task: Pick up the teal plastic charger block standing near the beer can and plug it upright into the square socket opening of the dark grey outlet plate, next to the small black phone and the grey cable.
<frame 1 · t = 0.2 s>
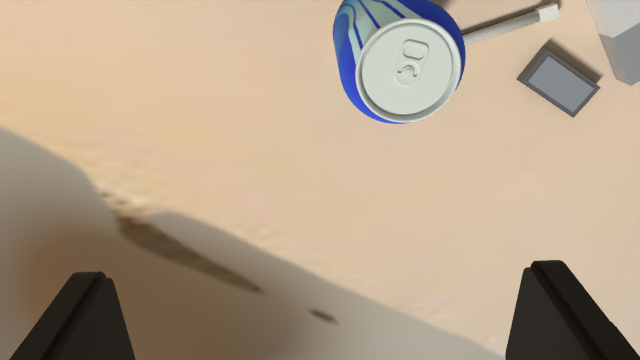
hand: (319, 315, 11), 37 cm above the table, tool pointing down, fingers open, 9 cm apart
cable: (494, 29, 43), on the table
beer can: (377, 29, 43), on the table
phone: (555, 81, 46), on the table
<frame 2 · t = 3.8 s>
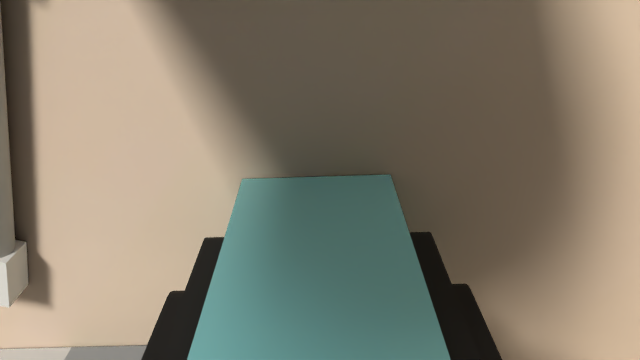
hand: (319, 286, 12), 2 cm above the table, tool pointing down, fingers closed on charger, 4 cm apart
charger: (318, 238, 14), on the table, touching gripper
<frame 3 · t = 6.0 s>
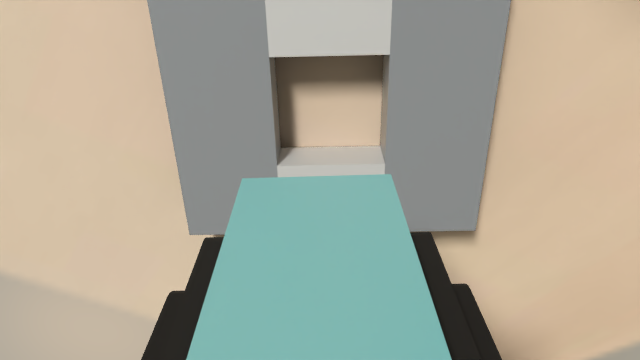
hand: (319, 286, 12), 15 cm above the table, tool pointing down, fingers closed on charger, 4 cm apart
socket plate: (329, 98, 25), on the table
charger: (318, 238, 13), point 13 cm above the table, touching gripper
when the fingers open (3 cm above the table, at t = 8.3 s): charger stays where it is, resting in socket plate.
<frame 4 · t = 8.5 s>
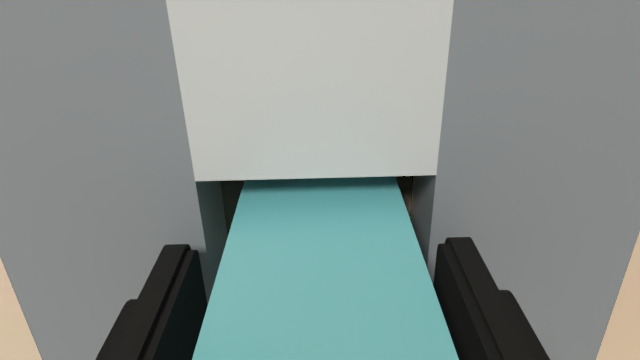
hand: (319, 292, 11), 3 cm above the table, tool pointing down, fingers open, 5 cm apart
socket plate: (318, 224, 14), on the table
charger: (321, 221, 14), resting in socket plate
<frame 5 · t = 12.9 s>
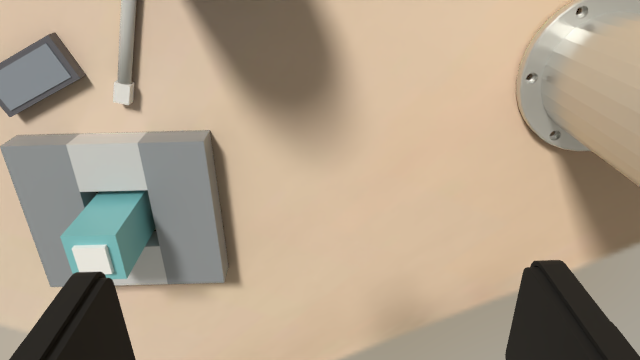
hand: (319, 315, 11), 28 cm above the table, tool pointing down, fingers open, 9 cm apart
cable: (129, 32, 35), on the table
socket plate: (130, 205, 42), on the table
charger: (131, 204, 42), resting in socket plate
phone: (35, 74, 36), on the table
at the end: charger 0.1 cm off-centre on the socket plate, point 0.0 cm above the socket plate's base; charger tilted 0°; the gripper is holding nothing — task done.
